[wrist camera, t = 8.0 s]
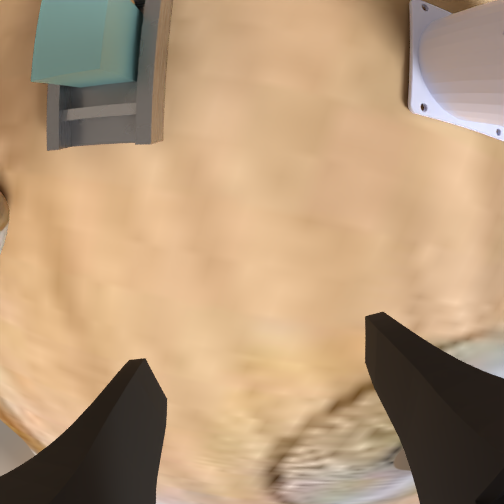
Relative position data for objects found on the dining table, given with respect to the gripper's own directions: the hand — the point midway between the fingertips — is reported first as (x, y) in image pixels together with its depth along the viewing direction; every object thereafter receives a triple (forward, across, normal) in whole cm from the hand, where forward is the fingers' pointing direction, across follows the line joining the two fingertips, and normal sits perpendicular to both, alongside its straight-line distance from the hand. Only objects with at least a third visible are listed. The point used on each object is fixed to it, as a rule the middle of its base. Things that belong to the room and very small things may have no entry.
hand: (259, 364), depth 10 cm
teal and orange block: (+9, +5, -13) cm, 17 cm away
